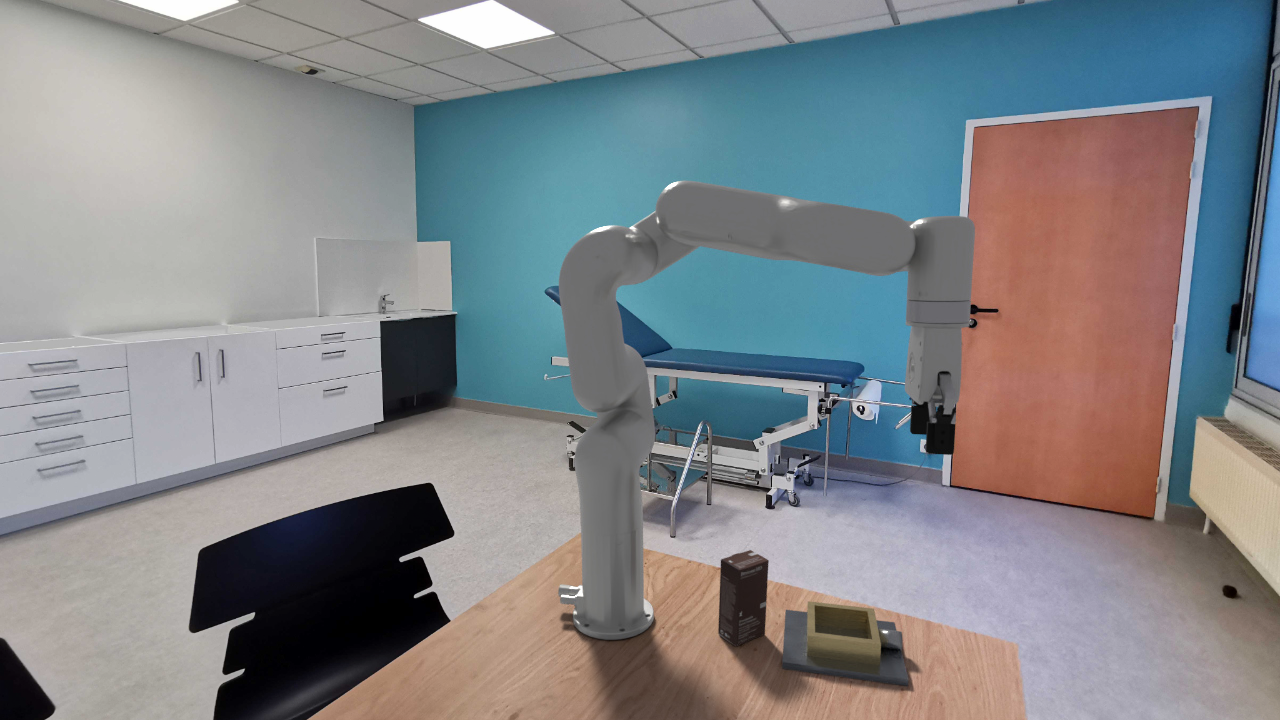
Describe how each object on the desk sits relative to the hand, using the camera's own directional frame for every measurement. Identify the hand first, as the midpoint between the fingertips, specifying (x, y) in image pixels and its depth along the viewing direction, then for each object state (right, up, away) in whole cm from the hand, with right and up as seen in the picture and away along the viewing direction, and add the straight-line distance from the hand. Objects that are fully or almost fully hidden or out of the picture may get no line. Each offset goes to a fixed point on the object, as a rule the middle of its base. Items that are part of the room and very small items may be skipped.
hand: (930, 443), depth 87 cm
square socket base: (-10, -30, +7) cm, 32 cm away
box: (-23, -30, +10) cm, 39 cm away
